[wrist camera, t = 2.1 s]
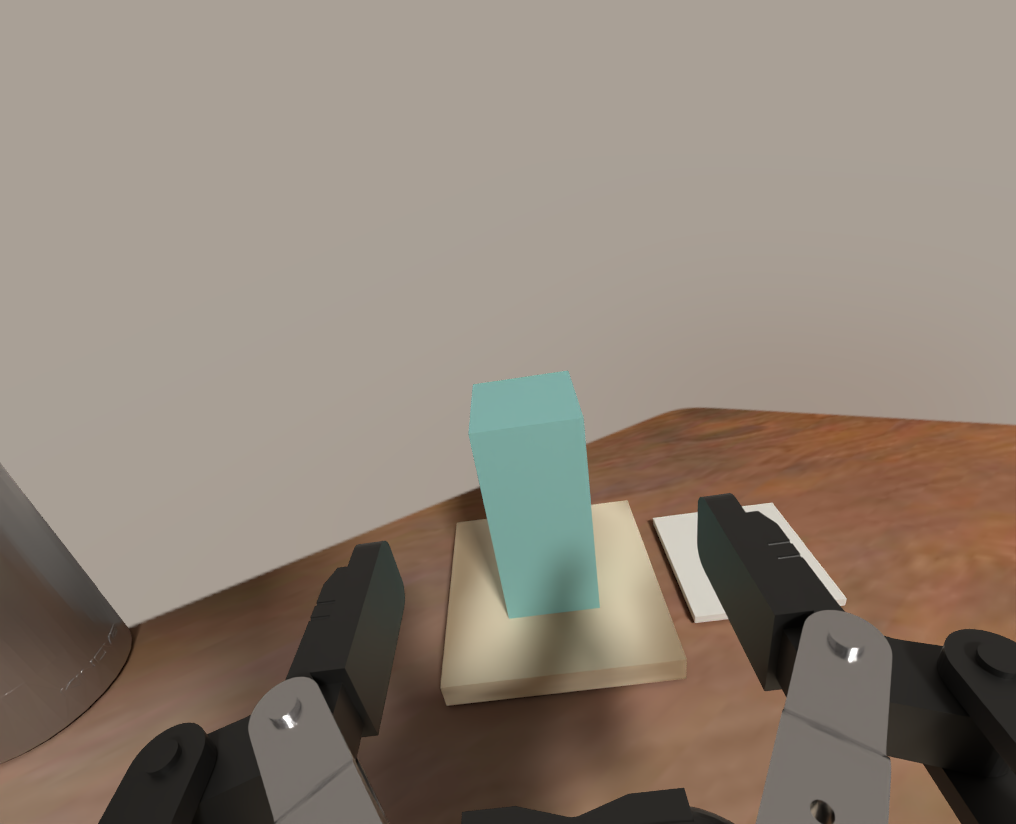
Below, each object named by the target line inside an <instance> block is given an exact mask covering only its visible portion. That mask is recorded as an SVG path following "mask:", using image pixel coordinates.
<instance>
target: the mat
mask: <svg viewBox="0 0 1016 824" xmlns="http://www.w3.org/2000/svg"><path fill="white" fill-rule="evenodd" d="M742 508H743V509H744V511H745V512H752V511H759V512H761V513H762V514H764V515H765V516H767V517H768V518H770V519H771V520H773V521H774V522H776V523H777V524H778V525H779V526H780V528H781V529H782V530H783V532H784V533H785V534H786V536H787V537H788V538H789V540H790V543H792V544H793V545H794V546H795V547H796V549H797V550H798V551H799V553H800V556H801V557H803V558H804V559H805V561H806V562H807V563H808V565H809V566H810V567H811V568H812V570H813V571H814V572H815V574H816V575H817V576H818V578H819V579H820V580H821V582H822V583H823V584H824V586H825V587H826V588H827V589H828V591H829V592H830V593H831V595H832V596H833V597H834V599H835V600H836V601H837V603H838V604H839V605H840V606H842V605H845V604H846V600H847V598H846V597H845V596H844V595H843V593H842V592H841V591H840V589H839V588H838V587H837V586H836V584H835V583H834V582H833V580H832V579H831V578H830V577H829V575H828V574H827V573H826V571H825V570H824V569H823V568H822V566H821V565H820V564H819V562H818V561H817V560H816V559H815V557H814V556H813V555H812V553H811V552H810V551H809V550H808V548H807V547H806V546H805V544H804V543H803V542H802V541H801V539H800V538H799V537H798V535H797V534H796V533H795V532H794V530H793V529H792V528H791V526H790V525H789V524H788V522H787V521H786V520H785V519H784V517H783V516H782V515H781V513H780V512H779V511H778V510H777V508H776V507H775V506H774V504H773V503H766V504H758V505H750V506H743V507H742ZM697 521H698V512H696V513H689V514H681V515H673V516H666V517H658V518H653V524H654V527H655V529H656V531H657V534H658V536H659V539H660V541H661V543H662V546H663V548H664V551H665V553H666V555H667V558H668V560H669V562H670V565H671V567H672V570H673V572H674V574H675V577H676V579H677V582H678V584H679V586H680V589H681V591H682V593H683V596H684V598H685V601H686V603H687V605H688V608H689V610H690V613H691V615H692V617H693V620H694V622H695V623H699V622H707V621H716V620H724V619H728V617H727V615H726V613H725V611H724V609H723V607H722V605H721V603H720V601H719V599H718V597H717V595H716V593H715V591H714V589H713V587H712V585H711V583H710V581H709V579H708V577H707V575H706V573H705V571H704V569H703V567H702V564H701V561H700V558H699V554H698V548H697Z"/></svg>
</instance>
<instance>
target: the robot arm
mask: <svg viewBox="0 0 1016 824" xmlns="http://www.w3.org/2000/svg"><path fill="white" fill-rule="evenodd" d="M697 548H698V554H699V558H700V561H701V564H702V567H703V569H704V571H705V573H706V575H707V577H708V579H709V581H710V583H711V585H712V587H713V589H714V591H715V593H716V595H717V597H718V599H719V601H720V603H721V605H722V607H723V609H724V611H725V613H726V615H727V617H728V619H729V621H730V623H731V625H732V627H733V629H734V631H735V633H736V635H737V637H738V639H739V641H740V643H741V645H742V647H743V649H744V651H745V653H746V655H747V657H748V659H749V661H750V663H751V665H752V667H753V669H754V671H755V673H756V675H757V677H758V679H759V681H760V683H761V685H762V687H763V689H764V691H771V690H779V689H782V690H783V692H784V694H785V696H786V698H787V699H786V703H785V707H784V709H783V711H782V715H781V719H780V723H779V727H778V731H777V735H776V740H775V744H774V748H773V752H772V757H771V761H770V765H769V769H768V774H767V778H766V782H765V786H764V791H763V795H762V799H761V803H760V808H759V812H758V816H757V820H756V824H888V817H889V800H890V783H891V761H890V758H889V757H888V756H891V757H895V758H900V759H904V760H909V761H913V762H918V763H923V765H924V766H925V768H926V769H927V771H928V772H929V774H930V775H931V777H932V779H933V780H934V782H935V783H936V785H937V786H938V788H939V790H940V791H941V793H942V794H943V796H944V797H945V799H946V801H947V802H948V804H949V805H950V807H951V808H952V810H953V811H954V813H955V815H956V816H957V818H958V819H959V821H960V822H961V824H1016V642H1014V641H1012V640H1010V639H1008V638H1005V637H1003V636H1001V635H998V634H995V633H991V632H987V631H983V630H976V629H964V630H958V631H955V632H953V633H951V634H950V635H949V636H948V637H947V638H946V640H945V643H944V645H943V646H938V645H932V644H925V643H918V642H911V641H905V640H899V639H894V638H890V637H886V636H883V634H882V633H881V632H880V631H879V630H878V629H877V628H875V627H874V626H873V625H872V624H870V623H869V622H867V621H865V620H864V619H862V618H860V617H858V616H855V615H853V614H850V613H847V612H845V611H844V610H843V609H842V608H841V606H840V605H839V604H838V603H837V601H836V600H835V599H834V597H833V596H832V595H831V593H830V592H829V591H828V589H827V588H826V587H825V586H824V584H823V583H822V582H821V580H820V579H819V578H818V576H817V575H816V574H815V572H814V571H813V570H812V568H811V567H810V566H809V565H808V563H807V562H806V561H805V559H804V558H803V557H801V556H800V553H799V551H798V550H797V549H796V547H795V546H794V545H793V544H792V543H790V540H789V538H788V537H787V536H786V534H785V533H784V532H783V530H782V529H781V528H780V526H779V525H778V524H777V523H776V522H774V521H773V520H771V519H770V518H768V517H767V516H765V515H764V514H762V513H761V512H759V511H752V512H745V511H744V509H743V508H742V506H741V505H740V503H739V502H738V501H737V499H736V498H735V496H734V495H733V494H731V493H727V494H720V495H713V496H706V497H700V498H699V500H698V521H697ZM404 603H405V593H404V586H403V582H402V579H401V576H400V573H399V570H398V568H397V565H396V562H395V559H394V557H393V554H392V551H391V548H390V546H389V544H388V542H387V541H380V542H373V543H365V544H358V545H356V546H355V548H354V550H353V553H352V556H351V559H350V561H349V564H348V567H340V568H337V569H336V571H335V572H334V573H333V574H332V575H331V577H330V578H329V579H328V580H327V581H326V582H325V584H324V585H323V588H322V590H321V593H320V595H319V598H318V600H317V606H315V608H314V610H313V613H312V615H311V621H309V623H308V625H307V628H306V630H305V633H304V635H303V638H302V640H301V643H300V645H299V648H298V650H297V653H296V655H295V658H294V660H293V663H292V665H291V668H290V670H289V673H288V675H287V677H286V680H285V681H283V682H281V683H280V684H278V685H276V686H275V687H273V688H272V689H271V690H270V691H269V692H267V693H266V694H265V695H264V696H263V697H262V699H261V700H260V701H259V702H258V704H257V705H256V707H255V709H254V710H253V712H252V715H250V716H248V717H246V718H244V719H241V720H239V721H237V722H235V723H232V724H230V725H228V726H225V727H223V728H221V729H218V730H216V731H214V732H212V733H209V734H206V732H205V731H204V730H203V729H202V727H200V726H199V725H197V724H195V723H183V724H179V725H176V726H174V727H171V728H169V729H167V730H165V731H164V732H162V733H161V734H159V735H158V736H156V737H155V738H154V739H153V740H151V741H150V742H149V743H148V744H147V745H146V746H145V747H144V748H143V749H142V750H141V751H140V752H139V754H138V755H137V756H136V758H135V759H134V760H133V762H132V763H131V765H130V767H129V768H128V770H127V772H126V774H125V776H124V778H123V779H122V781H121V783H120V785H119V787H118V788H117V790H116V792H115V794H114V796H113V798H112V799H111V801H110V803H109V805H108V807H107V808H106V810H105V812H104V814H103V816H102V818H101V819H100V821H99V823H98V824H390V823H389V821H388V818H387V816H386V814H385V812H384V810H383V808H382V806H381V804H380V802H379V800H378V798H377V796H376V794H375V792H374V790H373V788H372V786H371V784H370V782H369V780H368V777H367V775H366V773H365V771H364V769H363V767H362V765H361V763H360V761H359V759H358V757H357V753H358V749H359V745H360V740H361V737H367V736H376V735H378V734H379V729H380V724H381V719H382V714H383V709H384V704H385V699H386V694H387V689H388V684H389V679H390V674H391V669H392V664H393V659H394V655H395V650H396V645H397V640H398V635H399V630H400V625H401V620H402V615H403V610H404ZM131 642H132V636H131V633H130V630H129V628H128V627H127V626H126V625H125V623H124V622H123V621H122V619H121V618H120V617H119V615H118V614H117V613H116V612H115V610H114V609H113V608H112V607H111V605H110V604H109V603H108V601H107V600H106V599H105V597H104V596H103V595H102V594H101V593H100V591H99V590H98V588H97V587H96V585H95V584H94V583H93V581H92V580H91V579H90V578H89V576H88V575H87V574H86V572H85V571H84V570H83V569H82V567H81V566H80V565H79V564H78V563H77V561H76V560H75V558H74V557H73V556H72V555H71V553H70V552H69V551H68V549H67V548H66V547H65V545H64V544H63V543H62V542H61V540H60V539H59V538H58V537H57V535H56V534H55V533H54V531H53V530H52V529H51V528H50V526H49V525H48V524H47V522H46V521H45V520H44V519H43V517H42V516H41V515H40V513H39V512H38V511H37V510H36V508H35V507H34V506H33V504H32V503H31V502H30V501H29V499H28V498H27V497H26V495H25V494H24V493H23V492H22V490H21V489H20V488H19V487H18V485H17V484H16V483H15V481H14V480H13V479H12V478H11V476H10V475H9V474H8V472H7V471H6V470H5V469H4V467H3V466H2V465H1V463H0V764H1V763H3V762H6V761H8V760H10V759H12V758H15V757H17V756H19V755H21V754H24V753H25V752H27V751H29V750H31V749H32V748H34V747H36V746H38V745H39V744H41V743H43V742H45V741H46V740H48V739H49V738H51V737H52V736H53V735H55V734H56V733H58V732H59V731H61V730H62V729H63V728H65V727H66V726H68V725H69V724H70V723H71V722H72V721H74V720H75V719H76V718H77V717H78V716H80V715H81V714H82V713H83V712H84V711H86V710H87V709H88V708H89V707H90V706H91V705H92V704H93V703H94V702H95V701H96V700H97V699H98V698H99V697H100V696H101V695H102V694H103V693H104V692H105V690H106V689H107V688H108V687H109V685H110V684H111V683H112V682H113V680H114V679H115V678H116V677H117V675H118V673H119V672H120V670H121V669H122V667H123V665H124V664H125V662H126V660H127V657H128V655H129V652H130V650H131ZM461 824H734V823H732V822H731V821H729V820H727V819H725V818H723V817H721V816H718V815H716V814H714V813H711V812H708V811H706V810H703V809H700V808H695V807H690V806H689V803H688V800H687V796H686V793H685V789H684V788H678V789H669V790H659V791H650V792H641V793H632V794H627V795H625V796H623V797H620V798H618V799H616V800H614V801H611V802H609V803H607V804H605V805H602V806H600V807H598V808H596V809H593V810H591V811H589V812H587V813H584V814H582V815H580V816H577V817H565V816H560V815H556V814H551V813H546V812H541V811H536V810H532V809H527V808H522V807H517V806H512V807H503V808H494V809H485V810H476V811H466V812H462V822H461Z"/></svg>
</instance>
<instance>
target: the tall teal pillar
mask: <svg viewBox="0 0 1016 824" xmlns="http://www.w3.org/2000/svg"><path fill="white" fill-rule="evenodd" d="M469 438H470V443H471V447H472V452H473V457H474V461H475V466H476V470H477V475H478V479H479V484H480V489H481V493H482V498H483V502H484V507H485V511H486V516H487V520H488V525H489V530H490V534H491V539H492V543H493V548H494V552H495V557H496V561H497V566H498V571H499V575H500V580H501V584H502V589H503V593H504V598H505V603H506V607H507V612H508V616H509V619H512V618H520V617H528V616H537V615H545V614H553V613H561V612H570V611H578V610H586V609H594V608H600V603H599V591H598V580H597V568H596V557H595V545H594V534H593V522H592V510H591V499H590V487H589V476H588V464H587V453H586V441H585V430H584V418H583V415H582V412H581V409H580V406H579V403H578V399H577V396H576V393H575V390H574V387H573V384H572V381H571V378H570V375H569V372H568V371H563V372H556V373H549V374H542V375H536V376H528V377H521V378H515V379H508V380H501V381H494V382H487V383H480V384H473V390H472V401H471V412H470V423H469Z"/></svg>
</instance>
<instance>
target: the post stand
mask: <svg viewBox="0 0 1016 824" xmlns="http://www.w3.org/2000/svg"><path fill="white" fill-rule="evenodd" d="M591 510H592V522H593V534H594V545H595V557H596V568H597V580H598V591H599V603H600V608H594V609H586V610H578V611H570V612H561V613H553V614H545V615H537V616H528V617H520V618H512V619H509V616H508V612H507V607H506V603H505V598H504V593H503V589H502V584H501V580H500V575H499V571H498V566H497V561H496V557H495V552H494V548H493V543H492V539H491V534H490V530H489V525H488V520H487V519H481V520H474V521H466V522H459V523H457V527H456V537H455V546H454V556H453V566H452V576H451V586H450V596H449V606H448V616H447V626H446V636H445V646H444V656H443V666H442V676H441V686H440V688H441V691H442V694H443V697H444V700H445V703H446V705H447V706H449V705H458V704H466V703H475V702H484V701H493V700H502V699H511V698H519V697H528V696H537V695H546V694H555V693H564V692H572V691H581V690H590V689H599V688H608V687H617V686H625V685H634V684H643V683H652V682H661V681H670V680H678V679H686V667H687V659H686V656H685V653H684V651H683V648H682V645H681V643H680V640H679V637H678V635H677V632H676V629H675V627H674V624H673V621H672V619H671V616H670V613H669V611H668V608H667V605H666V603H665V600H664V597H663V595H662V592H661V589H660V587H659V584H658V581H657V578H656V576H655V573H654V570H653V568H652V565H651V562H650V560H649V557H648V554H647V552H646V549H645V546H644V544H643V541H642V538H641V536H640V533H639V530H638V528H637V525H636V522H635V520H634V517H633V514H632V512H631V509H630V506H629V504H628V501H627V500H625V501H618V502H610V503H603V504H595V505H591Z"/></svg>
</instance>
